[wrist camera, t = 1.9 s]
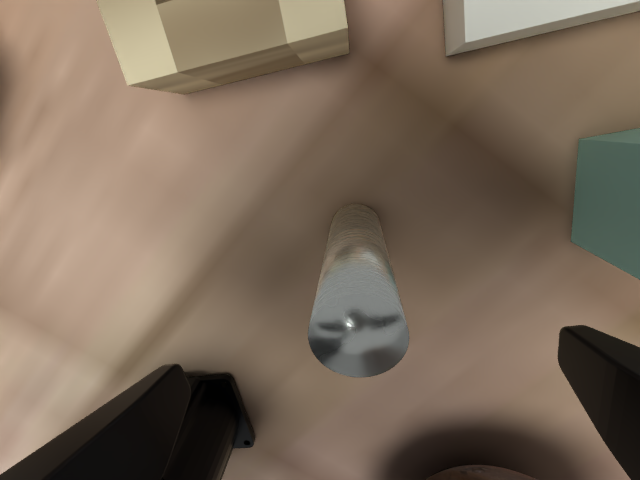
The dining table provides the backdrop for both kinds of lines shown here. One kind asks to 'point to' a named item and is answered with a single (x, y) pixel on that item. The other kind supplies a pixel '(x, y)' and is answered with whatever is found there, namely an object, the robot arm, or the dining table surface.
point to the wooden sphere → (479, 473)
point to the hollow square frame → (219, 39)
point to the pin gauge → (357, 299)
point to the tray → (519, 19)
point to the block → (609, 199)
